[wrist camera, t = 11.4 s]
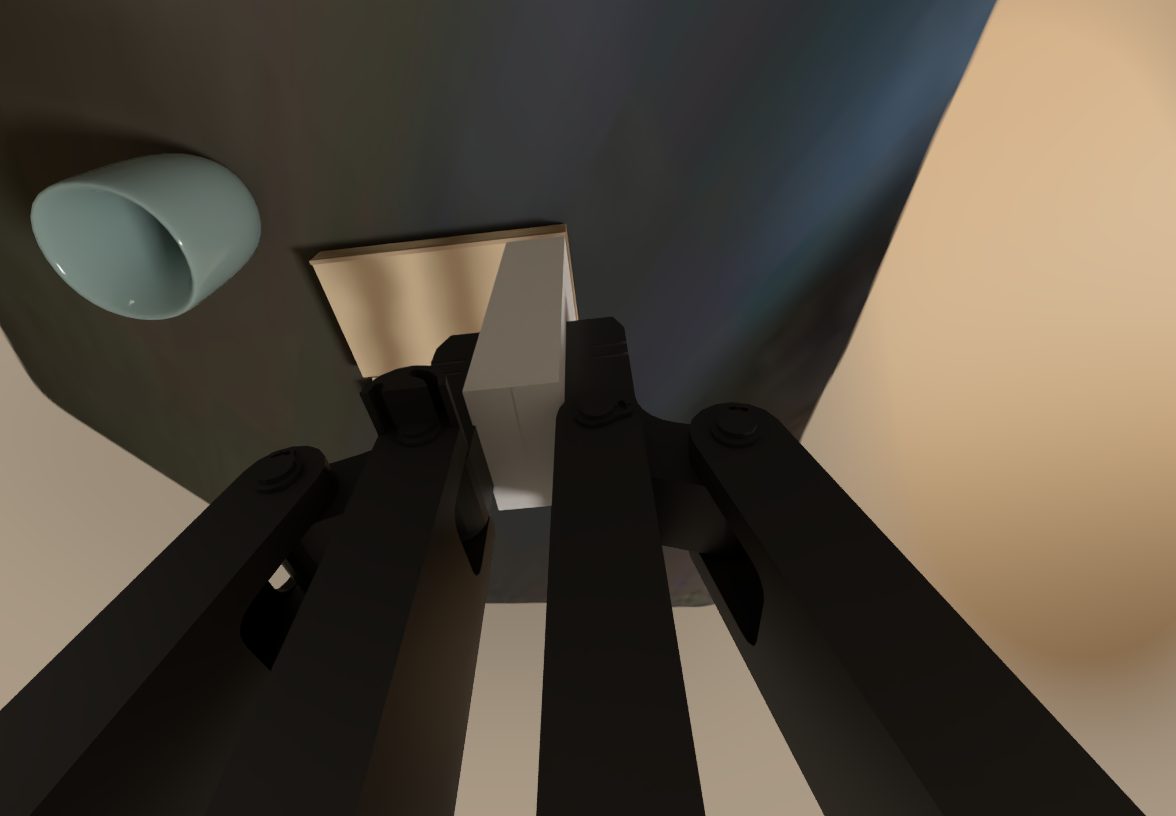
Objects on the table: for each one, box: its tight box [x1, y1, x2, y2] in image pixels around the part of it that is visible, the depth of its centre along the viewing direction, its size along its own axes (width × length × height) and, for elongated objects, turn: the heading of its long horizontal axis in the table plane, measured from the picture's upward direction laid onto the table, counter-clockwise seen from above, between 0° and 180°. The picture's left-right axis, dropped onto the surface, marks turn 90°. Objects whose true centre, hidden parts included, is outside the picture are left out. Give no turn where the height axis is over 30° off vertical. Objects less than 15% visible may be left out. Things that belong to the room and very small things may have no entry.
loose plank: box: [309, 224, 578, 377], centre depth 40 cm, size 18×10×2 cm, turn 96°
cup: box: [30, 153, 262, 320], centre depth 32 cm, size 8×8×10 cm
